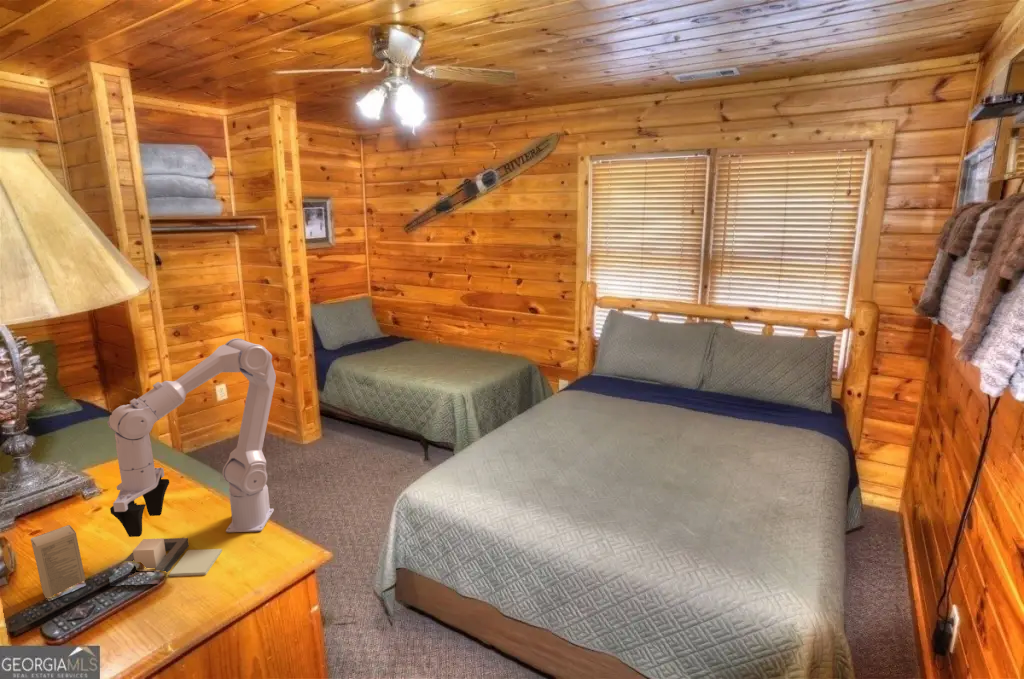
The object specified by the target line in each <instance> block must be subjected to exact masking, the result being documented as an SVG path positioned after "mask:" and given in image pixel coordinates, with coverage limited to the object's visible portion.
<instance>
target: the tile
mask: <svg viewBox="0 0 1024 679" xmlns="http://www.w3.org/2000/svg"><path fill="white" fill-rule="evenodd" d="M222 552H223V548H211V549H209V548H208V549H207V548H206V549H187V550H186V552H185V553H183V554H184V555H183V556H182V557H180V559H179V561H177V562H176V565H174V566H173V567H172V570H171V571H170V572H169V573H168V575H169V577H185V576H186V577H187V576H190V577H191V576H205V575H207V574H208V572H209V571H210V569H211V568H212V566H213V565H214V563H215V562H216V561H217V559H218V558H219V557H220V555H221V553H222Z"/></svg>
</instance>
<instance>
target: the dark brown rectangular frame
mask: <svg viewBox="0 0 1024 679" xmlns="http://www.w3.org/2000/svg"><path fill="white" fill-rule="evenodd" d="M164 544H165V551H166V552H167V551H168V553H166V556H165V557H164V559H163V560H162V561H161V562H160V563H159V565H158V566H157V567H156V568H155V569H156V570H161V571H166V572H168V571H170V570H171V569H173V567H174V566H175V564H177V562H178V560H180V559H181V556H182V555H183V554H185V553H184V552H185V551H187V550H188V548H189V547H190V546H189V544H190V543H189V538H188V537H177V538H176V537H172V538H164ZM133 560H134V555H133V551H132V552H131V553H130V554H129V555H128V556H127V557H126V558H125V559H124V561H133ZM134 572H135V573H134V574H132V575H129V576H128V578H130V577H134V576H135V575H137V574H139V573H141V572H136V571H134ZM168 573H169V572H168Z"/></svg>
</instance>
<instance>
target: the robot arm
mask: <svg viewBox="0 0 1024 679" xmlns="http://www.w3.org/2000/svg"><path fill="white" fill-rule="evenodd" d="M272 360H273V355H272V353H271V352H270V351H269V350H268V349H266V347H265V346H263V345H261V344H258V343H257V344H256V343H253V342H250V341H246V339H242V338H238V337H237V338H235V337H234V338H232V339H229V340H228V341H227V342H226V343H224V344H222V345H219V346H218V347H217V348H216V349H215V350H214V351H213V352H212V353H211V354H209V356H207V357H205V359H203V360H202V361H201V362H199V363H198V364H196V365H195V366H194V367H192V368H191V369H190V370H188V371H187V372H185V373H183V375H181V376H180V377H179V378H177V379H176V380H174V381H172V380H164V381H163V382H160V381H157V382H156V383H154V384H153V385H152V387H153V388H151V389H150V390H149V391H147V392H145V393H144V394H142V395H141V396H139V397H138V398H133V399H131V400H130V401H129V403H130V404H123V405H120V406H118V407H116V408H115V409H113V410H112V412H111V414H110V415H109V420H107V426H108V428H110V430H111V431H113V432H114V437H115V438H114V439H115V448H116V455H117V462H118V467H119V468H118V469H119V473H120V481H121V483H119V484H118V485H117V486H116V490H117V491H119V493H118V495H117V498H116V499H115V500H114V502H113V503H112V506H111V507H110V508H109V510H110V514H111V515H112V516H114V517H115V518H116V519H117V520H118V521H119V522H120V523H121V525H122V527H123V528H124V530H125V531H126V534H127V536H128V538H130V537H131V538H133V537H136V538H137V537H141V536H142V533H143V516H144V511H145V507H146V510H147V514H148V515H149V517H153V516H155V517H157V516H158V517H159V516H161V515H162V513H163V505H164V501H165V496H166V495H165V494H166V492H167V490H168V487H169V485H170V479H168V478H164V477H165V471H164V470H165V469H164V467H155V462H154V453H153V448H152V442H151V441H152V440H151V437H150V433H151V432H152V429H153V427H154V425H155V424H156V423H157V422H158V421H160V420H161V419H162V418H164V417H166V415H168V414H169V413H171V412H172V411H174V410H175V409H176V408H178V407H180V406H181V405H182V404H184V403H185V401H186V396H187V394H189V392H190V393H191V392H192V391H194V390H195V389H196V388H198V387H200V386H201V385H203V384H205V383H207V382H208V381H210V380H211V379H213V378H215V377H216V376H217V375H218V376H219V374H221V373H242V375H243V376H244V377H245V379H247V380H248V386H247V387H248V388H247V393H246V397H245V404H244V408H243V413H242V420H241V425H240V429H239V435H238V439H237V445H236V447H235V448H234V449H233V450H232V451H231V452H230V453H229V457H228V459H227V462H226V463H225V464H224V466H223V468H222V477H223V479H224V480H225V481H226V482H228V485H229V488H228V492H229V500H230V501H229V503H230V511H231V523H229V525H228V526H227V528H226V529H225V532H226V533H244V532H245V533H246V532H249V533H250V532H253V533H254V532H261V531H263V530H264V528H265V526H266V524H267V523H268V521H269V520H270V518H271V516H272V514H273V513H274V511H275V509H274V508H271V507H270V497H269V496H270V495H269V488H268V485H267V482H268V473H267V460H266V457H265V455H264V452H263V447H264V440H265V437H266V436H265V435H266V431H267V426H268V421H269V418H270V417H269V415H270V411H271V406H272V401H273V395H274V391H275V384H276V380H277V376H276V371H275V368H274V365H273V362H272ZM140 497H143V499H144V502H145V504H137V502H135V500H137V499H138V498H140Z"/></svg>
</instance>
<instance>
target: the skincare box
mask: <svg viewBox="0 0 1024 679" xmlns="http://www.w3.org/2000/svg"><path fill="white" fill-rule="evenodd" d="M30 541H31V546H32V550H33V554H34V555H33V556H34V559H35V563H36V567H37V572H38V577H39V581H40V586H41V591H42V593H43V595H44V598H45V599H46V598H48V597H51V596H53V595H54V594H57V593H59V592H61V591H63V590H65V589H67V588H69V587H71V586H73V585H75V584H77V583H80V582H82V581H85V580H86V575H85V571H84V570H85V569H84V566H83V562H82V556H81V551H80V547H79V542H78V537H77V532H76V531H75V529H74V528H73V527H72V526H71V525H70V524H67V525H65V526H62V527H59V528H57V529H54V530H51V531H48V532H45V533H41V534H40V535H37V536H33V537H31V538H30Z"/></svg>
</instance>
